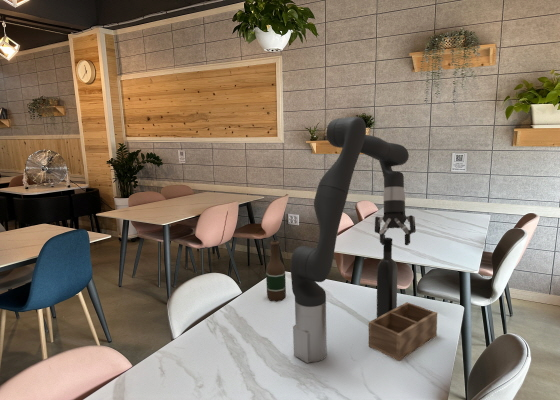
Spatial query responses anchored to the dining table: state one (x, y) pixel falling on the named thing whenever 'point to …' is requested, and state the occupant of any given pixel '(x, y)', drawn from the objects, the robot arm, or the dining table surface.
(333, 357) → the dining table surface
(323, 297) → the robot arm
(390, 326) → the bottle rack
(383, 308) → the wine bottle
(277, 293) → the beer bottle
